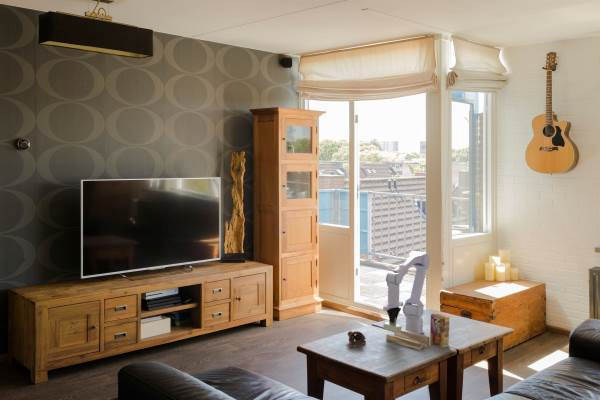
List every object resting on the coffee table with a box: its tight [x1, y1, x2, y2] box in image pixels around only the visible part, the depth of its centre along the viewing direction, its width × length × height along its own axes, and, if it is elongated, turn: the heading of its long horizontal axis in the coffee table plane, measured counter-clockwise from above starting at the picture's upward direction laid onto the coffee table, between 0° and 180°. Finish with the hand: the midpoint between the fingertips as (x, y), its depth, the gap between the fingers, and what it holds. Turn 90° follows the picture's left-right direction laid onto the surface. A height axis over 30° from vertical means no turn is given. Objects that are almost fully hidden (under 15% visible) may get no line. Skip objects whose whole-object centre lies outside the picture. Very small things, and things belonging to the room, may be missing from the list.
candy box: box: [429, 312, 450, 349], centre depth 291 cm, size 9×4×15 cm, turn 39°
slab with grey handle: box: [382, 317, 402, 334], centre depth 296 cm, size 4×8×7 cm, turn 44°
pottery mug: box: [347, 330, 367, 348], centre depth 290 cm, size 12×10×8 cm
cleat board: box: [385, 328, 430, 351], centre depth 294 cm, size 9×20×4 cm, turn 45°
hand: (393, 321), depth 296 cm, fingers closed on slab with grey handle
